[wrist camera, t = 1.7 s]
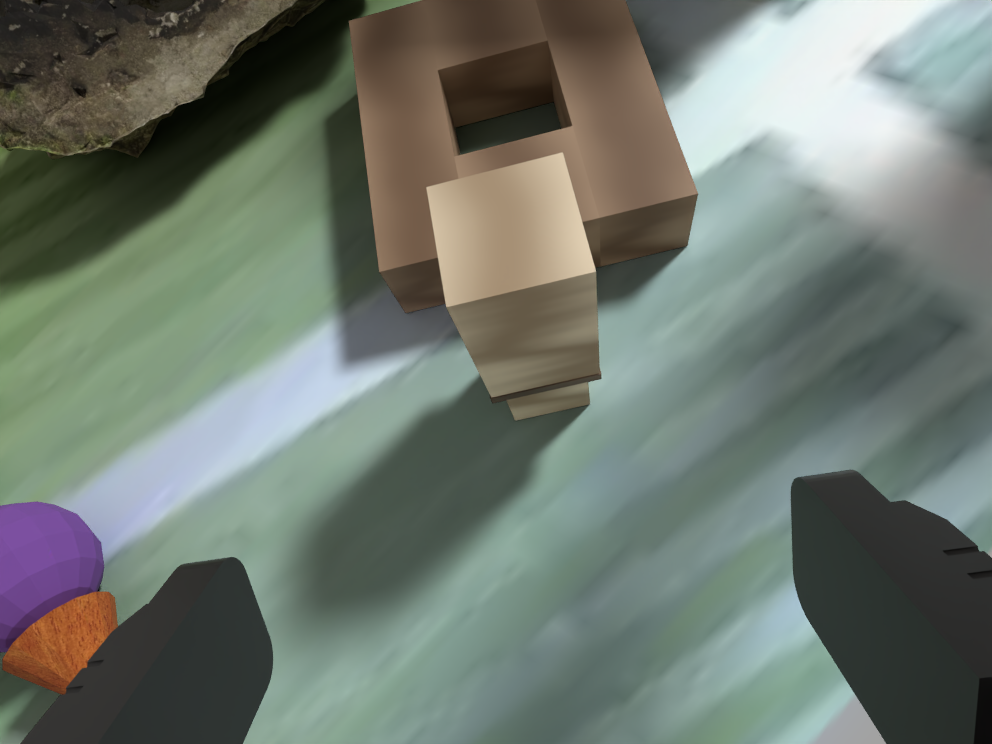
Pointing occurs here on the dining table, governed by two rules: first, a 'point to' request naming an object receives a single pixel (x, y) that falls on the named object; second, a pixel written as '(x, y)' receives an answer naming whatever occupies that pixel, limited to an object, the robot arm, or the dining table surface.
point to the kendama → (50, 594)
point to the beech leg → (520, 283)
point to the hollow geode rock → (118, 65)
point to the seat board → (506, 89)
